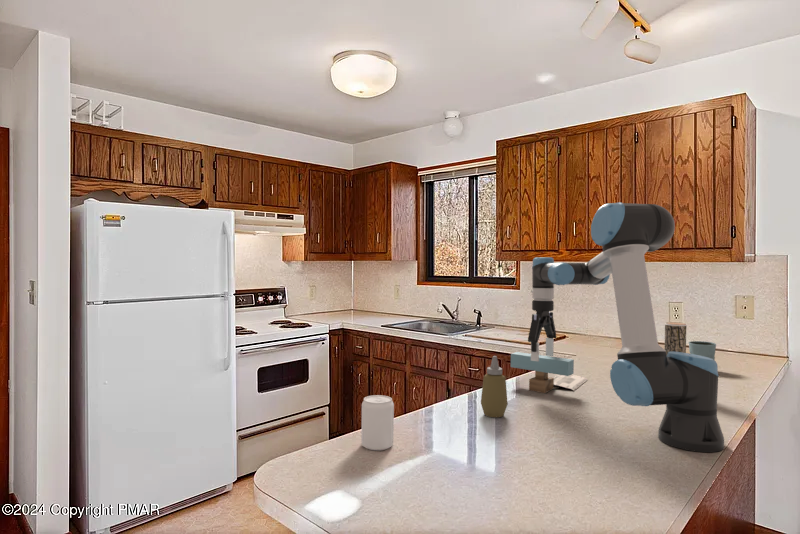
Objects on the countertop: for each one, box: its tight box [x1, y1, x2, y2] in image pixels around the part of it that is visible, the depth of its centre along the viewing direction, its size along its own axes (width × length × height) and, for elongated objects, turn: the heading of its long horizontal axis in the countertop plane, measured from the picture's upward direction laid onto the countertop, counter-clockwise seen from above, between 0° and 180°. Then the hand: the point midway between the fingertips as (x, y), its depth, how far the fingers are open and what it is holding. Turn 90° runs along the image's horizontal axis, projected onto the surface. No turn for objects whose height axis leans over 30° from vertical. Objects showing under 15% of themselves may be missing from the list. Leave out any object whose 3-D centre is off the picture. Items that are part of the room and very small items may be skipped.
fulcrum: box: [528, 371, 554, 394], centre depth 190 cm, size 8×6×7 cm
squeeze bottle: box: [480, 355, 508, 418], centre depth 159 cm, size 8×8×18 cm
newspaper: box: [553, 374, 589, 392], centre depth 200 cm, size 23×12×2 cm, turn 147°
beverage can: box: [360, 394, 395, 451], centre depth 132 cm, size 8×8×12 cm
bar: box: [510, 351, 575, 376], centre depth 190 cm, size 5×22×5 cm, turn 51°
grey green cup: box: [688, 340, 717, 361], centre depth 225 cm, size 10×10×12 cm
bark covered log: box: [663, 321, 687, 356], centre depth 187 cm, size 7×7×25 cm
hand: (542, 358), depth 190 cm, fingers open, 13 cm apart
